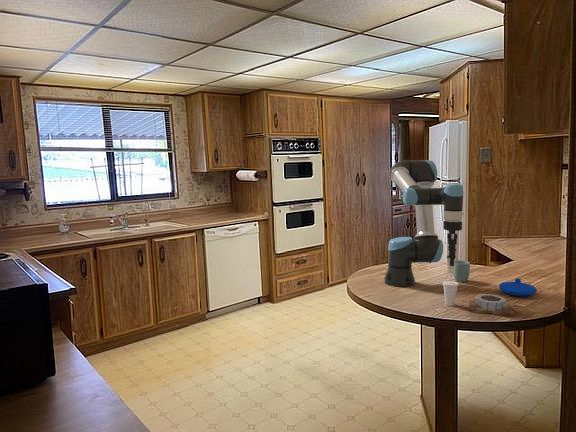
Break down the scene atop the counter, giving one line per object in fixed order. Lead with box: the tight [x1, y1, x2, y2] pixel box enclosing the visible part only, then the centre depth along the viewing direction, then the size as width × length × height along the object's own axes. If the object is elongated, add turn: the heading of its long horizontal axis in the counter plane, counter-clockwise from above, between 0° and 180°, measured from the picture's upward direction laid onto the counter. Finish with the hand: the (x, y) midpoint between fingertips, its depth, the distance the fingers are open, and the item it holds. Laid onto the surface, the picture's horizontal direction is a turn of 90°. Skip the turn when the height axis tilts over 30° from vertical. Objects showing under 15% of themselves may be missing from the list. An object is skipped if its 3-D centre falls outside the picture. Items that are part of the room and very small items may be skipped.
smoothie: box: [442, 273, 459, 307], centre depth 190 cm, size 6×6×14 cm
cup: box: [453, 260, 471, 283], centre depth 226 cm, size 8×8×10 cm
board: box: [468, 299, 514, 316], centre depth 184 cm, size 16×12×1 cm
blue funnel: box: [498, 278, 537, 297], centre depth 204 cm, size 16×16×7 cm
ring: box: [474, 293, 507, 311], centre depth 184 cm, size 12×12×4 cm
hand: (451, 269), depth 188 cm, fingers open, 13 cm apart
